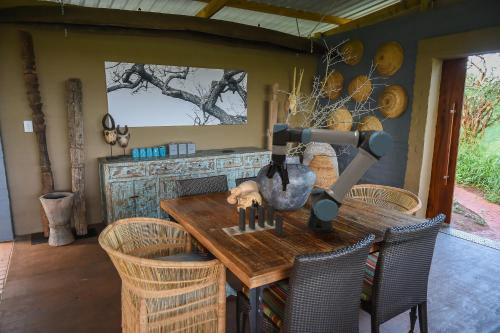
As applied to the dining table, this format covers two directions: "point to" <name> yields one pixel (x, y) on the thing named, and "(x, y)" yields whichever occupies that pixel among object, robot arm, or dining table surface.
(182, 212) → the dining table surface
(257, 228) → the domino board
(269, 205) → the domino
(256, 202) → the door stopper
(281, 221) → the domino
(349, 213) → the dining table surface
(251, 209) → the domino
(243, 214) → the domino
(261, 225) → the domino
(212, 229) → the dining table surface
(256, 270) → the dining table surface
